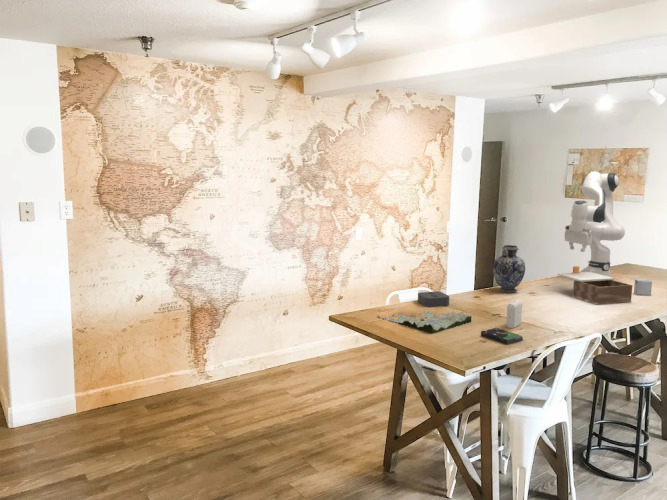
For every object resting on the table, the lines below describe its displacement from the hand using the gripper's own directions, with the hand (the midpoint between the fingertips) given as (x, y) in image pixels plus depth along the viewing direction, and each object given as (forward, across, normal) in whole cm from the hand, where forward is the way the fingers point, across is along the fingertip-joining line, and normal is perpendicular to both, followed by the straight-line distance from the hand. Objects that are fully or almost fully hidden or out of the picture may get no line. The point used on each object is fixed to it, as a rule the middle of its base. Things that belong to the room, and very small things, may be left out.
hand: (577, 250), depth 320 cm
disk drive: (+24, -73, +95) cm, 122 cm away
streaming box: (+24, -8, +98) cm, 101 cm away
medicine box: (+25, -19, -32) cm, 45 cm away
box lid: (+15, -9, 0) cm, 17 cm away
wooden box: (+25, -23, 0) cm, 34 cm away
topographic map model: (+24, -37, +116) cm, 124 cm away
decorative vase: (+25, +9, +40) cm, 48 cm away
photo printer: (+24, -57, +78) cm, 100 cm away
